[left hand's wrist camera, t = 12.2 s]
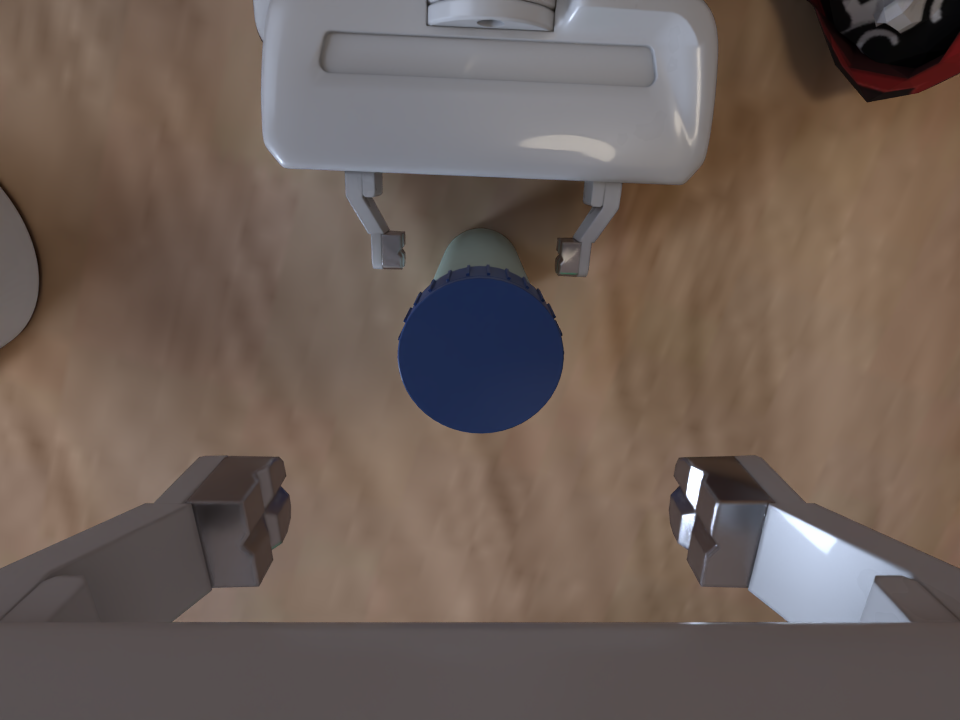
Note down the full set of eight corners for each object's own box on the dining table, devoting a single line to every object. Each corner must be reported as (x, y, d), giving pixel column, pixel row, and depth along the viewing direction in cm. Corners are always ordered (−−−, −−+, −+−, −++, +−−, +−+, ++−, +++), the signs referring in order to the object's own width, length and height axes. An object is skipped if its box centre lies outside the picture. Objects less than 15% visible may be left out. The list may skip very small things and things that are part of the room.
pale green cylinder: (448, 310, 33) (423, 428, 18) (435, 234, 31) (394, 296, 16) (523, 299, 33) (560, 410, 18) (514, 222, 31) (545, 273, 16)
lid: (420, 418, 20) (413, 445, 18) (390, 276, 18) (378, 289, 16) (563, 398, 20) (572, 424, 18) (548, 252, 18) (557, 263, 16)
